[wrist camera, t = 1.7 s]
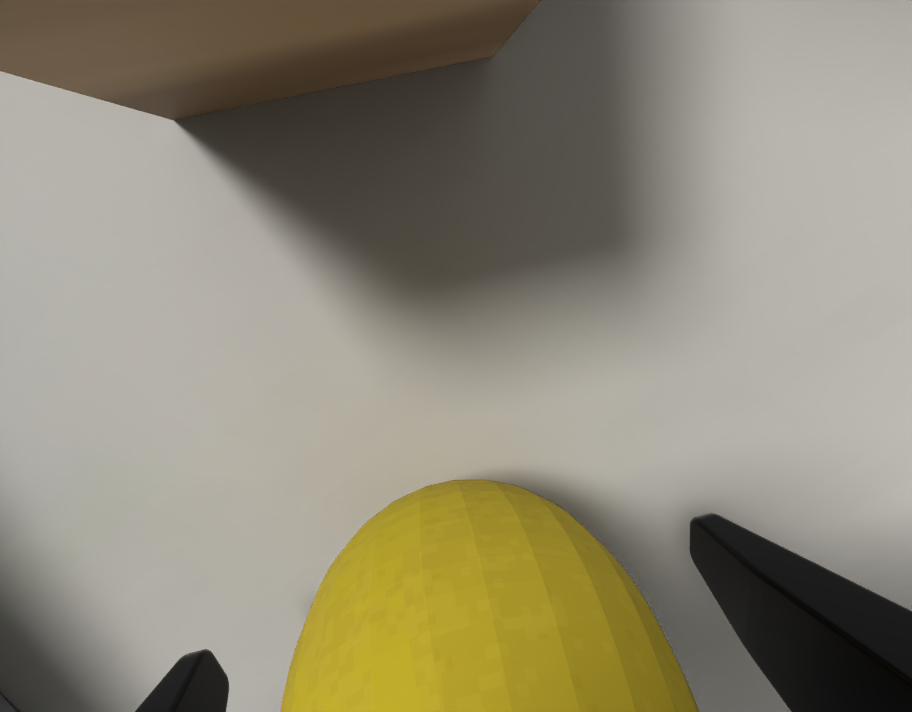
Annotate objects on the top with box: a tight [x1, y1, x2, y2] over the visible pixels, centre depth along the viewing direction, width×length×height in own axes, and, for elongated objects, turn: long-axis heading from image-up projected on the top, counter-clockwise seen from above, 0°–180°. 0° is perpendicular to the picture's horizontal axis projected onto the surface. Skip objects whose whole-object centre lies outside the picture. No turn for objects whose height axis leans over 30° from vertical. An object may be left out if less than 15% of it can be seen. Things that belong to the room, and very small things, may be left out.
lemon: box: [281, 480, 699, 712], centre depth 6 cm, size 6×6×8 cm
